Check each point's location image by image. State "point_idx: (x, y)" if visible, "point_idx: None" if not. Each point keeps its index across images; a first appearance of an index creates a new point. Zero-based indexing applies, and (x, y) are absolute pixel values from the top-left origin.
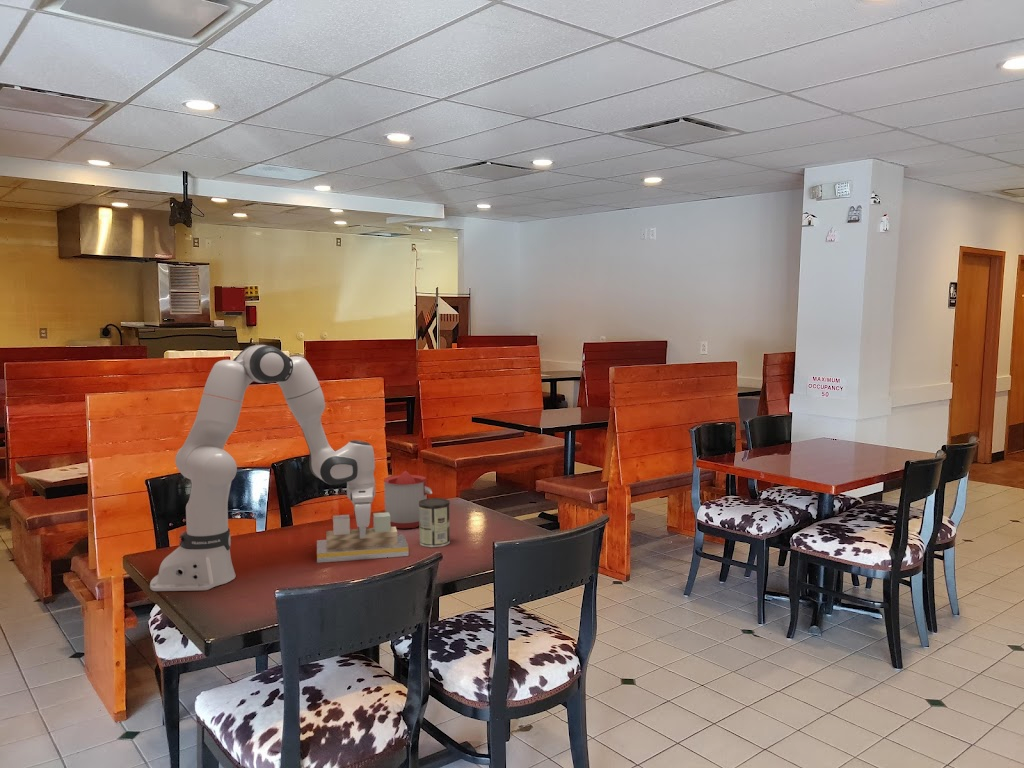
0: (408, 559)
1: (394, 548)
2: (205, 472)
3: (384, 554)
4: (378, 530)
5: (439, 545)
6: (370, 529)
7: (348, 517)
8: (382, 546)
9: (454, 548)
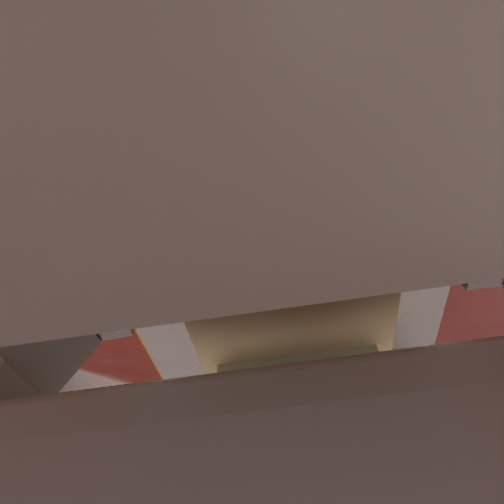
0: (137, 372)
1: (158, 369)
2: None
3: None
4: None
5: None
6: (342, 327)
7: (167, 290)
8: (183, 322)
9: None
